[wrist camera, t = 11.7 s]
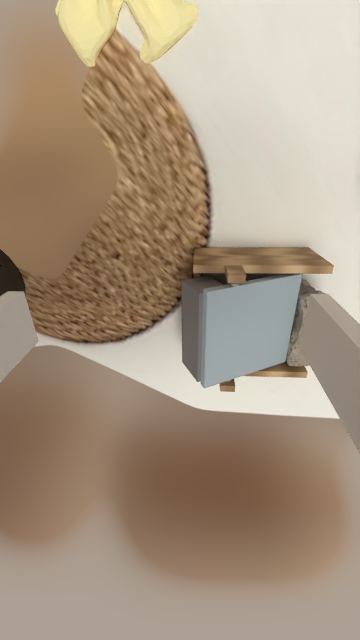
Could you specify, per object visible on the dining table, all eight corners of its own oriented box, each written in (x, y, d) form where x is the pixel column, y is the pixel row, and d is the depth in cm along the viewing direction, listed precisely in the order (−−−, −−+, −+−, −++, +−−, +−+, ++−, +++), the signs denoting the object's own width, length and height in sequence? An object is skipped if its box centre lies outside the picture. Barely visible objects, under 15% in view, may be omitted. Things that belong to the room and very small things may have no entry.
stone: (288, 379, 43) (266, 334, 51) (325, 373, 43) (298, 329, 51) (303, 313, 35) (275, 270, 42) (350, 306, 35) (313, 265, 42)
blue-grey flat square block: (182, 365, 43) (200, 390, 38) (181, 275, 36) (203, 291, 32) (260, 343, 48) (285, 362, 43) (271, 260, 42) (302, 272, 37)
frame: (193, 342, 51) (191, 390, 40) (194, 247, 43) (192, 274, 32) (289, 344, 50) (314, 394, 39) (308, 247, 42) (347, 275, 31)
